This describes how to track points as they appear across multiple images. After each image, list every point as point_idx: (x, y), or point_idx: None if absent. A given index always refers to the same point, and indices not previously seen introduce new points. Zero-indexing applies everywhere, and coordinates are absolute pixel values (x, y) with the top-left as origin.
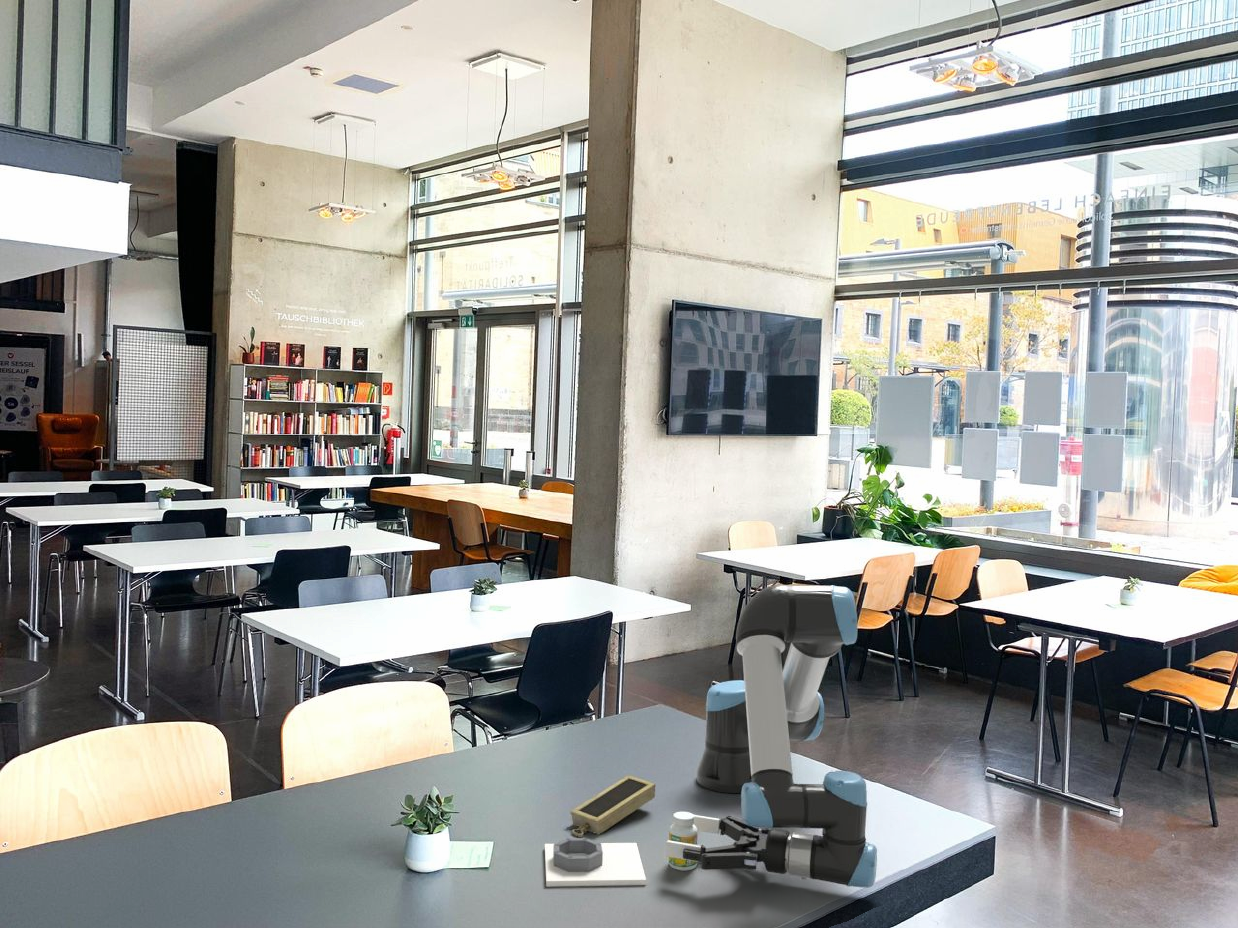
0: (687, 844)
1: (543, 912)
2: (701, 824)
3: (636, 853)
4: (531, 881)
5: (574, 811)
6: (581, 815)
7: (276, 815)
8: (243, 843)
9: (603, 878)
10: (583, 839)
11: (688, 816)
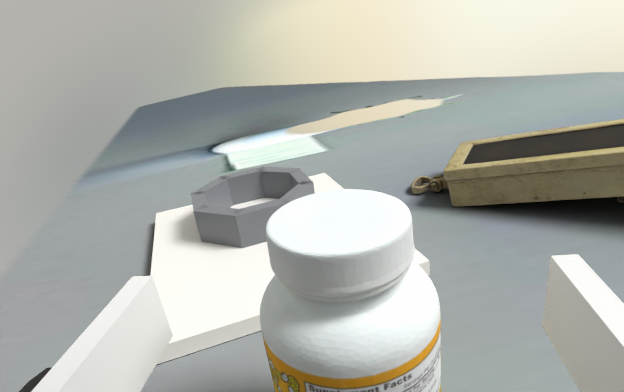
0: (70, 363)
1: (45, 248)
2: (600, 373)
3: None
4: None
5: (463, 144)
6: (454, 153)
7: (317, 92)
8: (256, 101)
9: (162, 269)
10: (303, 181)
11: (328, 235)
